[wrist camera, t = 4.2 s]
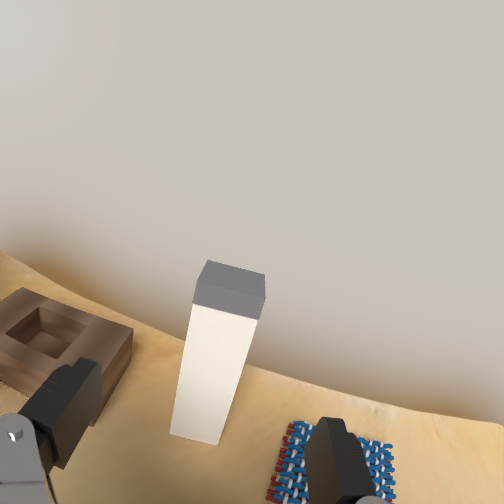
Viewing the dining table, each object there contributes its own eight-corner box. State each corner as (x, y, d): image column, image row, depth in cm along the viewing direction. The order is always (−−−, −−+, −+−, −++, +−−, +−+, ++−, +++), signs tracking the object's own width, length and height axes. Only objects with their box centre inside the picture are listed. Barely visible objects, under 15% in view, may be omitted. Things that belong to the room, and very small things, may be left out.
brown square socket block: (-29, 362, 20) (-37, 326, 18) (24, 318, 29) (22, 287, 28) (92, 426, 20) (89, 393, 19) (130, 360, 30) (133, 328, 29)
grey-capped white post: (168, 434, 22) (197, 281, 19) (178, 402, 26) (207, 260, 23) (218, 446, 23) (265, 298, 19) (222, 413, 26) (264, 274, 23)
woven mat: (285, 426, 27) (291, 412, 27) (383, 452, 25) (393, 439, 25) (257, 511, 17) (265, 499, 17) (385, 535, 15) (399, 525, 15)
